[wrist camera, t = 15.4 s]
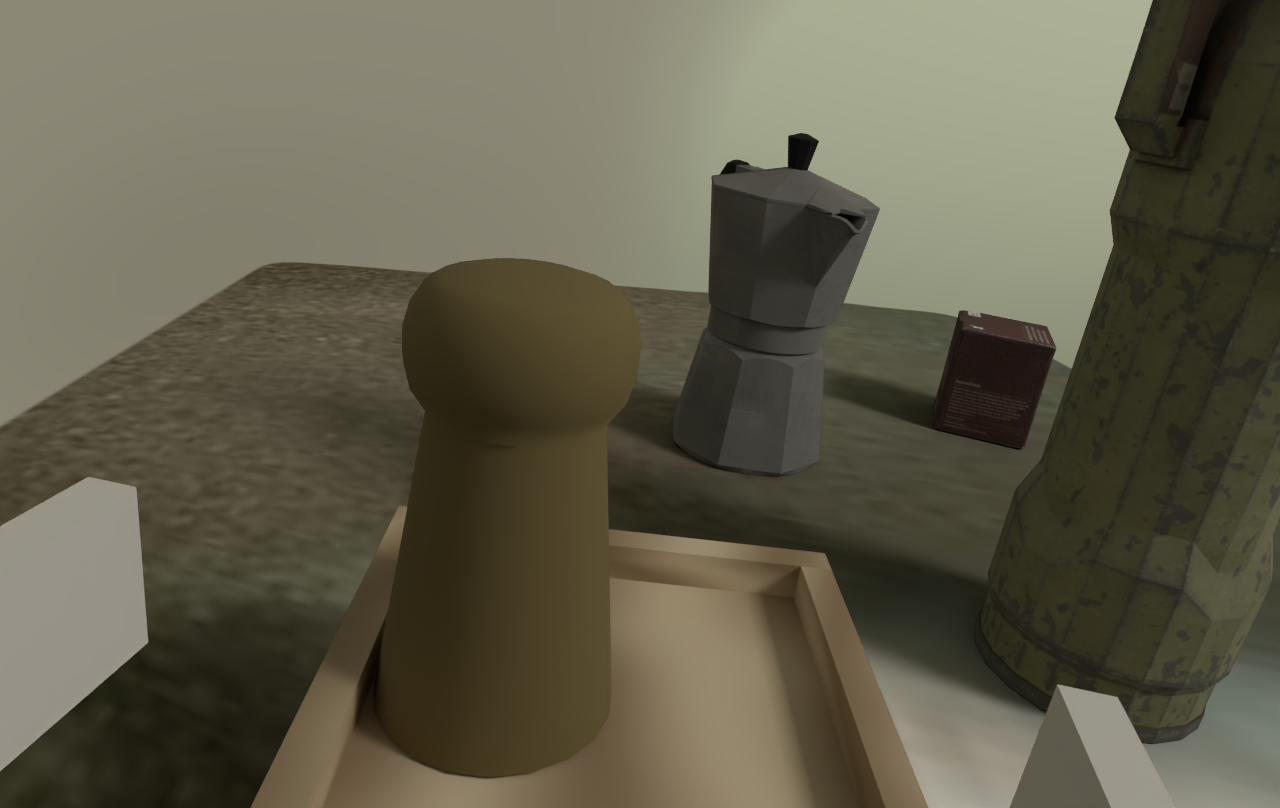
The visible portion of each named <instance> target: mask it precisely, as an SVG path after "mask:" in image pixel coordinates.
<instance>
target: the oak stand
mask: <svg viewBox="0 0 1280 808" xmlns="http://www.w3.org/2000/svg"><path fill="white" fill-rule="evenodd" d="M406 511H407V507H406V506H399V507H398V509H397V511H396V513H395V515H394V517H393V519H392V521H391V523H390V525H389V527H388V529H387V531H386V534H385V536H384V538H383V540H382V542H381V544H380V546H379V548H378V550H377V552H376V554H375V556H374V558H373V560H372V562H371V564H370V566H369V568H368V570H367V572H366V574H365V576H364V578H363V580H362V582H361V584H360V586H359V588H358V590H357V592H356V594H355V596H354V599H353V601H352V603H351V605H350V607H349V609H348V611H347V613H346V615H345V617H344V619H343V621H342V623H341V625H340V627H339V629H338V631H337V633H336V635H335V637H334V639H333V641H332V643H331V645H330V647H329V649H328V651H327V653H326V655H325V657H324V659H323V661H322V664H321V666H320V668H319V670H318V672H317V674H316V676H315V678H314V680H313V682H312V684H311V686H310V688H309V690H308V692H307V694H306V696H305V698H304V700H303V702H302V704H301V706H300V708H299V710H298V712H297V714H296V716H295V718H294V720H293V722H292V724H291V726H290V728H289V731H288V733H287V735H286V737H285V739H284V741H283V743H282V745H281V747H280V749H279V751H278V753H277V755H276V757H275V759H274V761H273V763H272V765H271V767H270V769H269V771H268V773H267V775H266V777H265V779H264V781H263V783H262V785H261V787H260V789H259V791H258V793H257V796H256V798H255V800H254V802H253V804H252V806H251V808H928V806H927V804H926V801H925V799H924V796H923V794H922V791H921V789H920V786H919V784H918V781H917V779H916V777H915V774H914V772H913V769H912V767H911V764H910V762H909V759H908V757H907V754H906V752H905V749H904V747H903V745H902V742H901V740H900V737H899V735H898V732H897V730H896V727H895V725H894V722H893V720H892V717H891V715H890V712H889V710H888V708H887V705H886V703H885V700H884V698H883V695H882V693H881V690H880V688H879V685H878V683H877V680H876V678H875V676H874V673H873V671H872V668H871V666H870V663H869V661H868V658H867V656H866V653H865V651H864V648H863V646H862V644H861V641H860V639H859V636H858V634H857V631H856V629H855V626H854V624H853V621H852V619H851V616H850V614H849V611H848V609H847V607H846V604H845V602H844V599H843V597H842V594H841V592H840V589H839V587H838V584H837V582H836V579H835V577H834V575H833V572H832V570H831V567H830V565H829V562H828V560H827V557H826V555H825V553H818V552H809V551H800V550H791V549H782V548H773V547H764V546H756V545H747V544H738V543H729V542H720V541H711V540H702V539H693V538H684V537H675V536H666V535H657V534H648V533H639V532H630V531H621V530H612V529H609V573H610V630H611V687H612V692H611V702H610V713H609V717H608V718H607V720H606V722H605V723H604V725H603V726H602V728H601V730H600V731H599V733H598V735H597V736H596V738H595V739H594V740H593V741H592V742H590V743H589V744H588V745H586V746H585V747H584V748H582V749H581V750H580V751H579V752H577V753H576V754H575V755H573V756H572V757H571V758H569V759H567V760H565V761H562V762H560V763H557V764H554V765H552V766H549V767H546V768H544V769H541V770H538V771H536V772H533V773H524V774H515V775H506V776H498V777H486V776H478V775H469V774H461V773H453V772H448V771H446V770H443V769H441V768H438V767H435V766H433V765H430V764H428V763H425V762H423V761H420V760H418V759H415V758H413V757H412V756H411V755H409V754H408V753H407V752H406V751H404V750H403V749H402V748H401V747H400V746H398V745H397V744H396V743H395V742H393V741H392V740H391V739H390V738H388V737H387V735H386V733H385V731H384V729H383V728H382V726H381V724H380V722H379V720H378V718H377V716H376V714H375V713H374V682H375V677H376V671H377V666H378V661H379V655H380V650H381V645H382V639H383V634H384V629H385V623H386V618H387V613H388V607H389V602H390V597H391V591H392V586H393V581H394V575H395V570H396V565H397V559H398V554H399V549H400V543H401V538H402V533H403V527H404V522H405V517H406Z"/></svg>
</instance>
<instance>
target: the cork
mask: <svg viewBox="0 0 1280 808" xmlns="http://www.w3.org/2000/svg"><path fill="white" fill-rule="evenodd" d="M640 350H641V339H640V331H639V322H638V319H637V316H636V314H635V312H634V310H633V308H632V305H631V303H630V301H629V299H628V298H627V297H626V296H625V295H624V294H623V293H622V292H621V291H620V290H619V289H618V288H616V287H615V286H614V285H613V284H611V283H610V282H609V281H607V280H605V279H603V278H601V277H598V276H596V275H594V274H590V273H587V272H584V271H581V270H577V269H574V268H571V267H568V266H564V265H560V264H555V263H550V262H545V261H537V260H530V259H514V258H495V259H484V260H474V261H464V262H459V263H455V264H451V265H448V266H445V267H443V268H441V269H439V270H437V271H435V272H433V273H432V274H430V275H429V276H428V277H427V278H425V279H424V280H423V282H422V283H421V285H420V286H419V288H418V289H417V290H416V292H415V293H414V295H413V296H412V298H411V299H410V301H409V304H408V308H407V311H406V314H405V318H404V321H403V328H402V353H403V362H404V367H405V371H406V375H407V379H408V383H409V388H410V390H411V391H412V393H413V394H414V396H415V397H416V399H417V400H418V401H419V403H420V404H421V406H422V407H423V408H424V410H425V415H424V420H423V426H422V431H421V436H420V442H419V447H418V452H417V458H416V463H415V468H414V474H413V479H412V484H411V490H410V495H409V501H408V506H407V511H406V517H405V522H404V527H403V533H402V538H401V543H400V549H399V554H398V559H397V565H396V570H395V575H394V581H393V586H392V591H391V597H390V602H389V607H388V613H387V618H386V623H385V629H384V634H383V639H382V645H381V650H380V655H379V661H378V666H377V671H376V677H375V682H374V713H375V714H376V716H377V718H378V720H379V722H380V724H381V726H382V728H383V729H384V731H385V733H386V735H387V737H388V738H390V739H391V740H392V741H393V742H395V743H396V744H397V745H398V746H400V747H401V748H402V749H403V750H404V751H406V752H407V753H408V754H409V755H411V756H412V757H413V758H415V759H418V760H420V761H423V762H425V763H428V764H430V765H433V766H435V767H438V768H441V769H443V770H446V771H448V772H453V773H461V774H469V775H478V776H486V777H498V776H506V775H515V774H524V773H533V772H536V771H538V770H541V769H544V768H546V767H549V766H552V765H554V764H557V763H560V762H562V761H565V760H567V759H569V758H571V757H572V756H573V755H575V754H576V753H577V752H579V751H580V750H581V749H582V748H584V747H585V746H586V745H588V744H589V743H590V742H592V741H593V740H594V739H595V738H596V736H597V735H598V733H599V731H600V730H601V728H602V726H603V725H604V723H605V722H606V720H607V718H608V717H609V713H610V702H611V692H612V687H611V630H610V573H609V516H608V460H607V425H608V423H609V422H610V421H611V420H612V419H613V418H614V417H615V416H616V415H617V414H618V413H619V412H620V411H621V410H622V409H623V408H624V407H625V406H626V404H627V402H628V399H629V397H630V394H631V392H632V389H633V387H634V385H635V382H636V378H637V371H638V364H639V358H640Z"/></svg>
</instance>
